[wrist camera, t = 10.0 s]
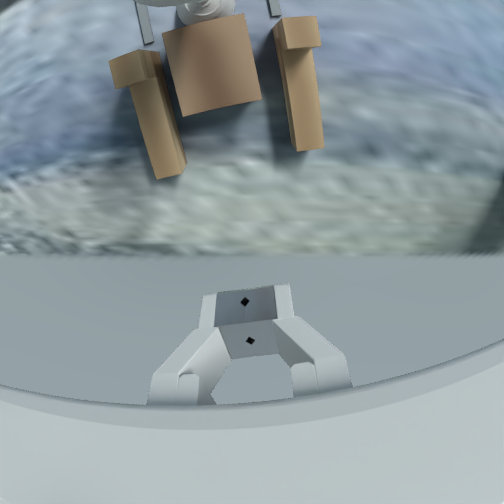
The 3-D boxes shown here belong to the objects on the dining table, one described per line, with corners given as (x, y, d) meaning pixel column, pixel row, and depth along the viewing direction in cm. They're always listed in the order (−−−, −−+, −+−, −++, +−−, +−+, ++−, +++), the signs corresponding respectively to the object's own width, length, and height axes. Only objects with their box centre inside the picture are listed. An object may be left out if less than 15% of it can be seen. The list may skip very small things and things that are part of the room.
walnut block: (242, 22, 20) (243, 13, 16) (257, 93, 24) (262, 99, 20) (175, 38, 20) (161, 33, 16) (192, 107, 24) (182, 116, 20)
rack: (299, 25, 20) (316, 15, 15) (316, 139, 27) (334, 158, 22) (134, 60, 21) (108, 61, 16) (163, 168, 28) (148, 193, 23)
